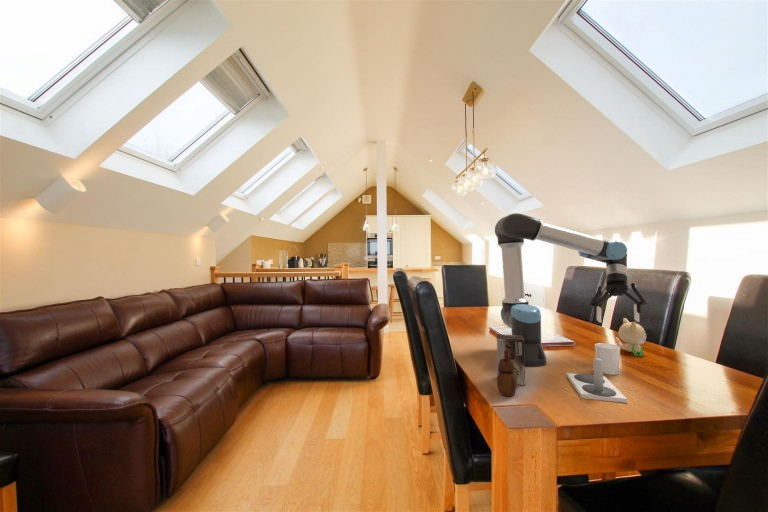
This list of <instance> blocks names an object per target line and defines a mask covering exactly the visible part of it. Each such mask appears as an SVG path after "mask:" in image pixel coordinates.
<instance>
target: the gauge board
mask: <svg viewBox="0 0 768 512" xmlns="http://www.w3.org/2000/svg"><path fill="white" fill-rule="evenodd" d="M577 374H578V373H570V372H566V377H567V378H569V379H568V380H569V382H570V383H571V385H572V386H573V387H574V389H575V391H576V392H577V394H578V395H579V396H580V398H581V399H588V400H598V401H607V402H615V403H626V404H628V398H627V397H626V396H625V395H624V394H623V393H622V392H621V391H620V390H619V389H618V388H617V387H616V386H615V385H614V384H613V383H612V382H611V381H610V380H609V379H608V378H607V377H606V376H604V373H603V360H602V359H598V358H596V357H595V358H593V375H594V384H589V383H584V382H581V381H579V380H577V379H575V378H574V376H575V375H577ZM603 379H604V380H605V383H603Z"/></svg>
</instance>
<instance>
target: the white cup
mask: <svg viewBox="0 0 768 512" xmlns="http://www.w3.org/2000/svg"><path fill="white" fill-rule="evenodd" d="M594 348H595V358H598V359H602V360H603V375H604V374H605V375H610V376H611V375H612V376H614V375H619V373H620V365H621V364H620V363H621V362H620V361H621V347H620V346H619V345H618V344H617V345H616V344H613V343H606V342H603V343H602V342H600V343H599V342H598V343H595V344H594Z"/></svg>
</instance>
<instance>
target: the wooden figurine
mask: <svg viewBox="0 0 768 512" xmlns="http://www.w3.org/2000/svg"><path fill="white" fill-rule="evenodd" d="M499 368H500V370H501V371H499V373H498V372H497V376H496V377H497V378H496V383H497V388H498V392H499V393H500V394H501V395H502V396H505V397H512V396H514V395H515V394H516V390H517V386H518V385H517V379H516V375H515V373H514V372H513V370H514V363H513V361H512V360H510V359H508V350H506V352H505V355H504V359H501V360H500V362H499Z"/></svg>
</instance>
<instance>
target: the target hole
mask: <svg viewBox="0 0 768 512" xmlns="http://www.w3.org/2000/svg"><path fill="white" fill-rule="evenodd" d="M576 374H577V375H575V376H574V378H575V379H577V380H579V381H581V382H584V383H589V384H594V374H588V373H576ZM603 383H605V380H604V379H603Z"/></svg>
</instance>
